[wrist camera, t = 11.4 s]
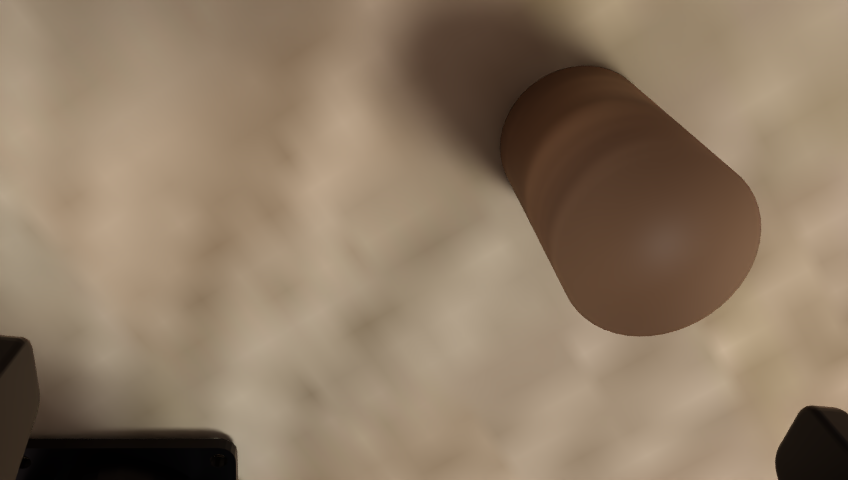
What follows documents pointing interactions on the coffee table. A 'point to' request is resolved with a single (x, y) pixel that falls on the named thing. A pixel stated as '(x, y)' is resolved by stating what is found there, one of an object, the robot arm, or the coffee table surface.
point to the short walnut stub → (627, 203)
